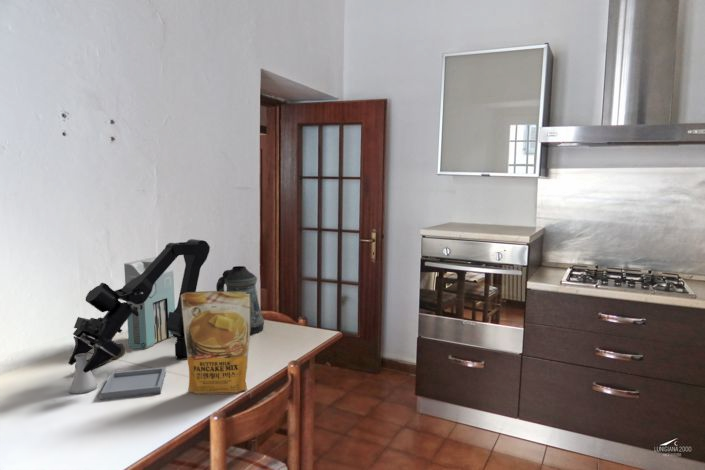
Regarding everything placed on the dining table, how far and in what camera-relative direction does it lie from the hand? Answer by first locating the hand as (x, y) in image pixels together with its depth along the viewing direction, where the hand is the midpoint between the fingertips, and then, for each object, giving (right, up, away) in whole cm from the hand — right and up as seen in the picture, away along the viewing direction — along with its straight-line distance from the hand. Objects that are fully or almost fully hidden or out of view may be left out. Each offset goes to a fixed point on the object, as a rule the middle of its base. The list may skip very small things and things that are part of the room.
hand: (76, 368), depth 141 cm
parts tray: (+15, -6, +3) cm, 16 cm away
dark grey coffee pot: (+33, 0, +57) cm, 65 cm away
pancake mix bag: (+39, -6, +1) cm, 40 cm away
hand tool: (-4, -5, +21) cm, 22 cm away
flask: (+1, -7, +2) cm, 7 cm away
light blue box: (+4, -2, +44) cm, 44 cm away
